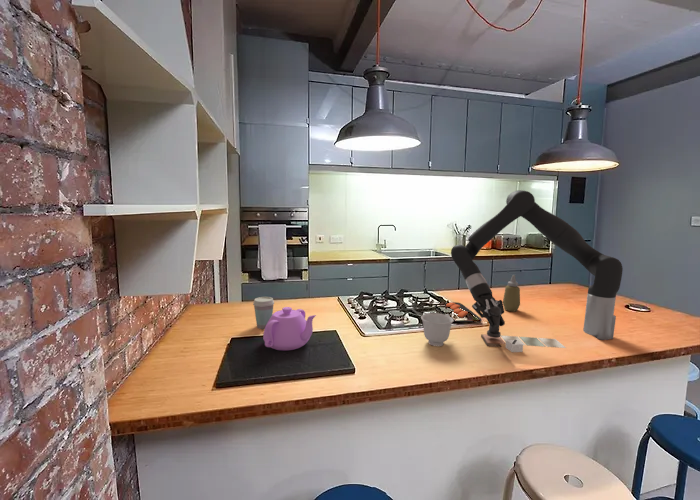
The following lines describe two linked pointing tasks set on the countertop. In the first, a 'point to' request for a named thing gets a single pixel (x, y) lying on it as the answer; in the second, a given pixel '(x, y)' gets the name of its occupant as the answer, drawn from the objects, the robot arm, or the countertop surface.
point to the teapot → (288, 329)
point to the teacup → (436, 327)
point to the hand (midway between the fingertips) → (498, 325)
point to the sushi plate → (460, 310)
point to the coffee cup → (263, 310)
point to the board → (527, 340)
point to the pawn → (495, 314)
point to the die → (514, 346)
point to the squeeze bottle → (512, 295)
